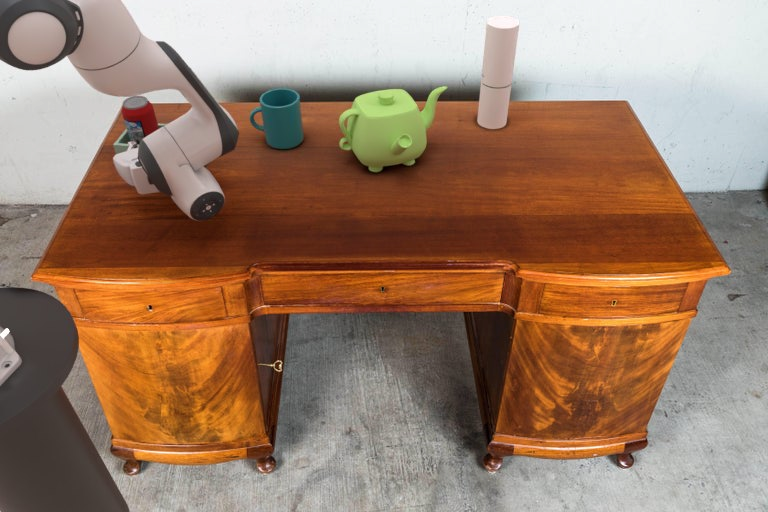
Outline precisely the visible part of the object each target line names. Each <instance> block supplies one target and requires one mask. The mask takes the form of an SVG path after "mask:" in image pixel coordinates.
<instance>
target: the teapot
mask: <svg viewBox="0 0 768 512" xmlns="http://www.w3.org/2000/svg"><path fill="white" fill-rule="evenodd" d="M447 89H448V86H447V85H442V86H439V87H436V88H434V89H433V90H431V92H430V93H429V95H428V97H427V100H426V103H425V105H424V108H423V109H422V110H421V111H420V109H419V106H418V104H417V103H416V101H415V100H414V98H413V97H412V96H411V94H409V93H408V91H406V90H405V89H402V88H390V89H389V88H388V89H381V90H375V91H371V92H370V91H369V92H367V93H363V94H361V95H358V96H356V97H355V99H354V100H353V102H352V105H351V108H349V109H346V110H344V111H343V112H342V113H341V114H340V116H339V117H338V118H339V119H338V125H339V128H340V130H341V132H342V134H343V136H344V137H342V138H341V139H340V140H339V143H338V145H339V148H340V149H341V150H342V151H344V152H345V151H346V152H349V151H352V152H353V153H354V155H355V156H356V158H357V159H358V161H359V162H360V163H361V164H362V165H363V166H366V167H368V170H369V171H370V172H372V173H378V172H381V171H382V170H383V169H384V167H388V166H395V165H400V164H402V165H404V166H412V165H414V164H415V163H416V161H415V160H416V159H418V158H420V156H422V154H423V153H424V151H425V150H426V147H427V143H428V141H427V130H429V128H430V127H431V126H432V124H433V122H434V119H435V113H436V107H437V102H438V99H439V97H440V95H441V94H443V93H444V92H445V91H447ZM346 120H347V122H346ZM345 122H346V123H345ZM345 124H346V125H345ZM346 142H347V143H346ZM345 143H346V144H345Z"/></svg>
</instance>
